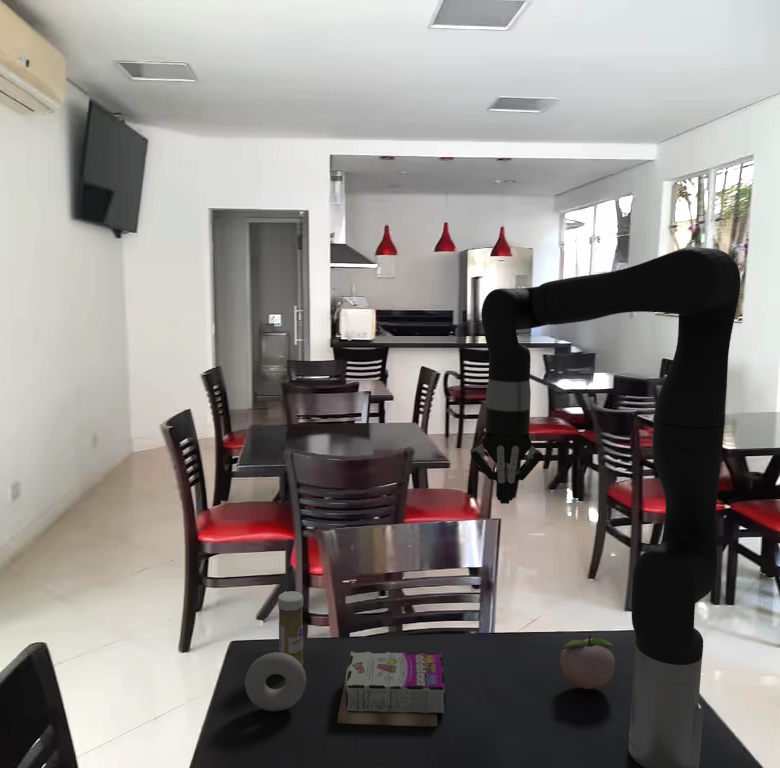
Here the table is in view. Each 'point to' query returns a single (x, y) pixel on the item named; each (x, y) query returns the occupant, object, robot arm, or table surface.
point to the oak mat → (384, 716)
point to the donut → (275, 697)
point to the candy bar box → (395, 682)
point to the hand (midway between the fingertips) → (504, 502)
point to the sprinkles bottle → (291, 624)
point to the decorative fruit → (588, 662)
